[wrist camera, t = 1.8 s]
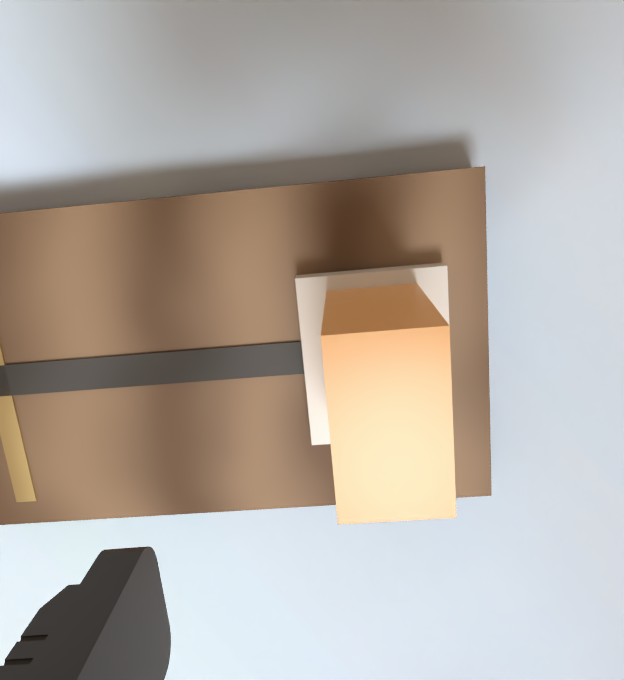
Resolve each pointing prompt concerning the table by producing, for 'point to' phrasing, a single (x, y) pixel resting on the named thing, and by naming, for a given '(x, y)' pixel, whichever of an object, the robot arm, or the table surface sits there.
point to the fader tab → (381, 388)
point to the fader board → (210, 342)
